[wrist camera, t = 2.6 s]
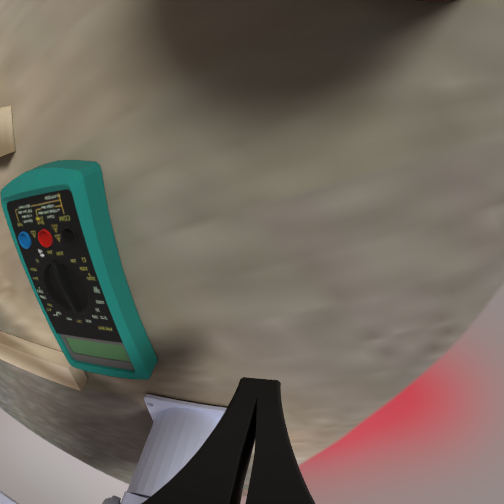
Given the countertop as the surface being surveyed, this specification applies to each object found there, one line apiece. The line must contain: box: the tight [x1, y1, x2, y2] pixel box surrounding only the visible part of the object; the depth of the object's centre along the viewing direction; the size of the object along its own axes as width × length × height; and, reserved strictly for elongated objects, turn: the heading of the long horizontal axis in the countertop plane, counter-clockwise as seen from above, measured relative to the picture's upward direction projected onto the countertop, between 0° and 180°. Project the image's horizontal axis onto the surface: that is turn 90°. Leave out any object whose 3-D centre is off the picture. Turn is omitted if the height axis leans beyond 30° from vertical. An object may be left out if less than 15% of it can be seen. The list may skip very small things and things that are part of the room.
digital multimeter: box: [1, 160, 157, 379], centre depth 17 cm, size 7×15×3 cm, turn 5°
